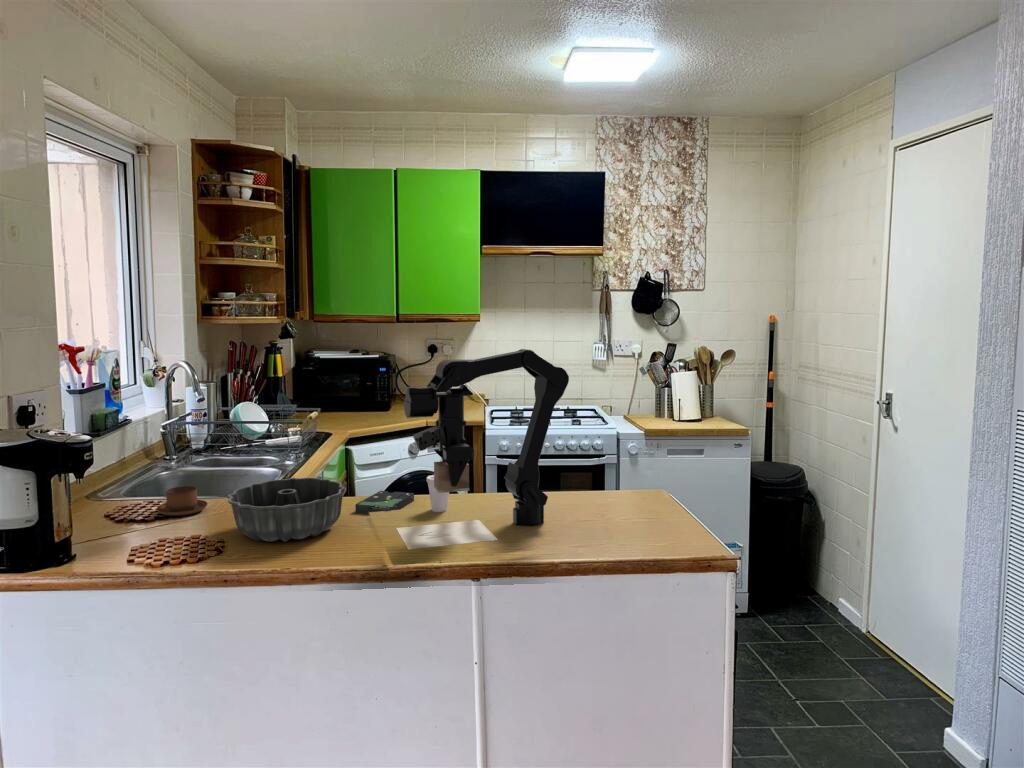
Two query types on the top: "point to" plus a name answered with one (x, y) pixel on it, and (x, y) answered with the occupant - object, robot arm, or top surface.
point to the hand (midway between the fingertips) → (451, 483)
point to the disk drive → (384, 502)
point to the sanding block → (444, 482)
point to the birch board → (445, 534)
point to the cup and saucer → (181, 502)
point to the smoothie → (437, 496)
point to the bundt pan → (287, 508)
